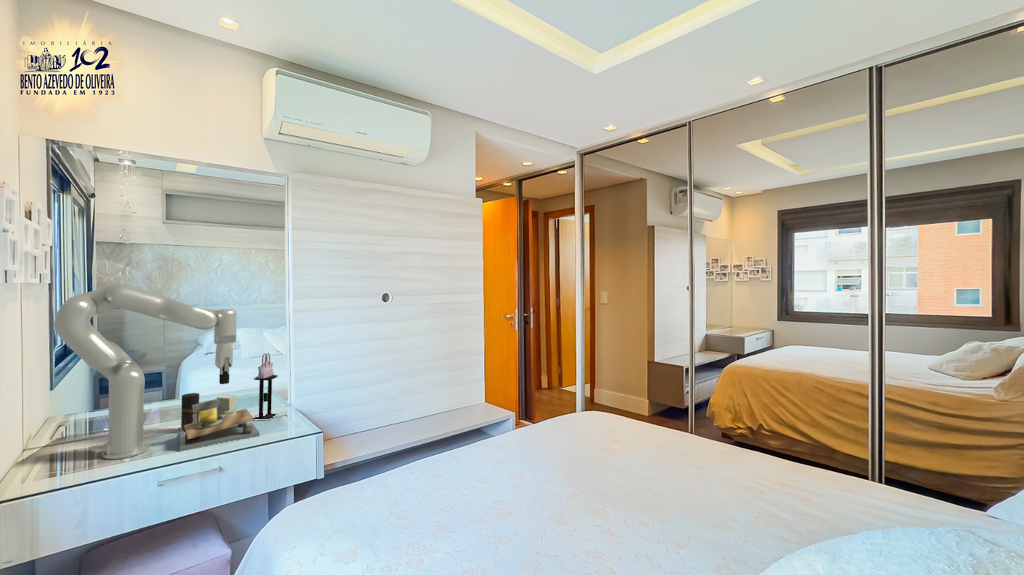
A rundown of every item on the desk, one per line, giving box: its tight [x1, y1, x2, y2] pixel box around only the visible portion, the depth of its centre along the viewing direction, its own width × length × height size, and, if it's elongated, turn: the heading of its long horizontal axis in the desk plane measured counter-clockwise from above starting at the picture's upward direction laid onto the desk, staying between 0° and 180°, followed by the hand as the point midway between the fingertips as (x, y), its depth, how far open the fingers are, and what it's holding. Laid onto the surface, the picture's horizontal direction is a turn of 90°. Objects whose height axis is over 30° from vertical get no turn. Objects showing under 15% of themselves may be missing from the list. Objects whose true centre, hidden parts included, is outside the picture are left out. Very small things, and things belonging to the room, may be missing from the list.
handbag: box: [253, 352, 279, 422], centre depth 199 cm, size 10×8×30 cm
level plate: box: [184, 398, 255, 439], centre depth 173 cm, size 22×14×10 cm, turn 131°
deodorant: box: [180, 392, 200, 434], centre depth 180 cm, size 6×6×15 cm
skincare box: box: [216, 394, 237, 416], centre depth 190 cm, size 6×4×12 cm
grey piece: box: [176, 422, 260, 452], centre depth 174 cm, size 26×14×5 cm, turn 132°
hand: (224, 383), depth 177 cm, fingers closed
